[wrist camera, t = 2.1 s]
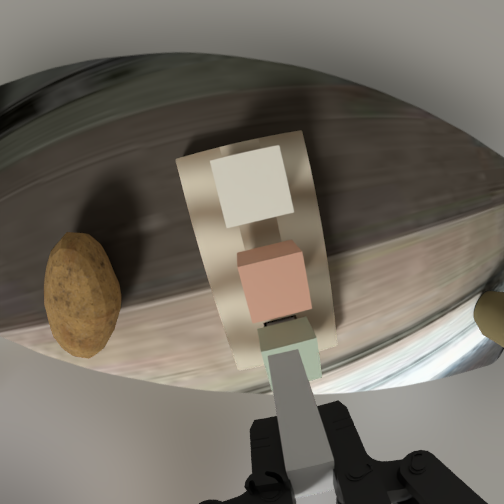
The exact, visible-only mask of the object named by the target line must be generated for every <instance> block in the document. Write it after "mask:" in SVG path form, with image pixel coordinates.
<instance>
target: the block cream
mask: <svg viewBox="0 0 504 504" xmlns="http://www.w3.org/2000/svg"><path fill="white" fill-rule="evenodd" d="M210 164H211V168H212V172H213V176H214V180H215V184H216V188H217V192H218V196H219V200H220V204H221V208H222V212H223V216H224V220H225V224H226V228H231V227H235V226H239V225H243V224H247V223H251V222H255V221H260V220H264V219H268V218H272V217H277V216H281V215H285V214H290V213H294V209H293V205H292V200H291V195H290V190H289V186H288V181H287V177H286V172H285V168H284V164H283V159H282V155H281V151H280V146H279V145H277V146H272V147H267V148H262V149H257V150H253V151H248V152H244V153H239V154H235V155H231V156H227V157H223V158H219V159H215V160H211V161H210Z"/></svg>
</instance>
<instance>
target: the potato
mask: <svg viewBox="0 0 504 504" xmlns="http://www.w3.org/2000/svg"><path fill="white" fill-rule="evenodd" d="M44 304H45V308H46V311H47V316H48V320H49V324H50V328H51V331H52V334H53V337H54V338H55V339H56V340H57V342H58V343H59V344H60V346H61V347H62V348H63V349H64V350H65V351H67V352H68V353H70V354H71V355H73V356H76V357H82V358H91V357H92V356H94V355H96V354H97V353H98V352H99V351H101V350H102V349H103V348H104V347H105V345H106V344H107V342H108V340H109V338H110V336H111V335H112V333H113V331H114V329H115V325H116V322H117V319H118V315H119V312H120V308H121V291H120V285H119V282H118V280H117V277H116V275H115V273H114V271H113V268H112V266H111V263H110V261H109V258H108V256H107V254H106V253H105V251H104V249H103V247H102V246H101V244H100V243H99V242H98V241H96V240H95V239H94V238H93V237H92V236H90V235H89V234H85V233H70V232H67V233H66V234H65V235H64V236H63V237H62V238H61V240H60V241H59V242H58V243H57V244H56V245H55V247H54V248H53V249H52V250H51V253H50V256H49V260H48V263H47V267H46V273H45V282H44Z"/></svg>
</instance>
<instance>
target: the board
mask: <svg viewBox="0 0 504 504" xmlns="http://www.w3.org/2000/svg"><path fill="white" fill-rule="evenodd" d="M277 145H279V146H280V151H281V155H282V159H283V164H284V168H285V172H286V177H287V181H288V186H289V190H290V195H291V200H292V205H293V209H294V213H290V214H285V215H281V216H277V217H272V218H268V219H264V220H260V221H255V222H251V223H247V224H243V225H239V226H235V227H231V228H226V224H225V220H224V216H223V212H222V208H221V204H220V200H219V196H218V192H217V188H216V184H215V180H214V176H213V172H212V168H211V164H210V161H211V160H215V159H219V158H223V157H227V156H231V155H235V154H239V153H244V152H248V151H253V150H257V149H262V148H267V147H272V146H277ZM176 163H177V167H178V171H179V175H180V179H181V183H182V187H183V191H184V195H185V199H186V203H187V206H188V210H189V214H190V218H191V221H192V225H193V229H194V232H195V236H196V239H197V243H198V246H199V250H200V253H201V257H202V260H203V263H204V267H205V270H206V273H207V277H208V280H209V283H210V287H211V290H212V293H213V296H214V299H215V303H216V306H217V309H218V312H219V315H220V318H221V321H222V324H223V327H224V330H225V333H226V336H227V339H228V342H229V345H230V348H231V351H232V354H233V357H234V360H235V362H236V365H237V368H238V371H240V370H245V369H250V368H255V367H259V366H264V361H263V358H262V354H261V349H260V343H259V337H258V330H257V329H258V328H262V327H265V326H264V323H265V322H269V321H273V320H277V319H281V318H285V317H289V316H293V315H294V318H295V319H298V318H302V317H307V319H308V321H309V323H310V325H311V327H312V329H313V331H314V333H315V335H316V337H317V342H318V350H319V351H322V350H325V349H329V348H332V347H335V346H337V336H336V326H335V316H334V307H333V299H332V291H331V283H330V276H329V269H328V262H327V255H326V249H325V242H324V236H323V230H322V224H321V219H320V213H319V208H318V202H317V197H316V192H315V187H314V182H313V177H312V173H311V168H310V163H309V159H308V154H307V150H306V146H305V142H304V137H303V133H302V130H300V131H294V132H288V133H283V134H277V135H272V136H267V137H262V138H257V139H252V140H248V141H243V142H239V143H234V144H230V145H226V146H222V147H218V148H214V149H210V150H206V151H203V152H199V153H195V154H192V155H188V156H185V157H181V158H178V159H176ZM291 239H292V240H293V241H294V243H295V244H296V245H297V246H298V247H299V248H300V249H301V251H302V253H303V258H304V264H305V269H306V275H307V281H308V287H309V293H310V299H311V305H312V309H309V310H305V311H301V312H298V313H294V314H290V315H286V316H282V317H278V318H274V319H270V320H266V321H262V322H257V323H252V320H251V316H250V312H249V309H248V305H247V301H246V298H245V294H244V290H243V287H242V283H241V279H240V275H239V272H238V268H237V253H238V252H242V251H246V250H250V249H254V248H258V247H262V246H267V245H271V244H275V243H279V242H283V241H287V240H291Z"/></svg>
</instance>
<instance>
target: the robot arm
mask: <svg viewBox="0 0 504 504" xmlns="http://www.w3.org/2000/svg"><path fill="white" fill-rule="evenodd" d="M268 362H269V368H270V375H271V381H272V387H273V393H274V399H275V405H276V412H277V416H275V417H270V418H264V419H258V420H254V422H253V424H252V426H251V428H250V441H251V442H250V444H251V461H252V474H251V475H250V476H249V477H248V478H247V480H246V482H245V488H246V490H247V491H246V492H245V493H244V494H242V495H240V496H238V497H235V498H232V499H230V500H227V501H223V502H221V501H218V500H206V501H203V502H201V503H199V504H296V498H301V497H305V496H310V495H315V494H319V493H323V492H327V491H330V490H334V489H335V493H336V496H337V498H336V504H488V503H486V502H485V501H484V500H483V499H482V498H481V497H480V496H479V495H477V494H476V493H475V492H474V491H473V490H472V489H471V488H469V487H468V486H467V485H466V484H465V483H464V482H463V481H462V480H461V479H459V478H458V477H457V476H456V475H455V474H454V473H453V472H451V470H450V469H448V468H447V467H446V466H445V465H444V464H443V463H442V462H441V461H440V460H438V459H437V458H436V457H435V456H434V455H433V454H432V453H430V452H428V451H424V450H419V451H414V452H412V453H410V454H408V455H407V456H406V457H405V458H404V459H402V460H395V461H383V462H382V461H377V460H374V459H372V458H371V457H370V456H369V455H368V454H367V453H366V451H365V449H364V447H363V444H362V442H361V439H360V437H359V435H358V432H357V430H356V428H355V426H354V423H353V421H352V419H351V416H350V414H349V412H348V409H347V407H346V406H345V405H343V404H342V403H341V402H340V401H335V402H331V403H328V404H324V405H320V406H317V405H316V402H315V399H314V396H313V393H312V390H311V387H310V383H309V380H308V377H307V374H306V371H305V368H304V365H303V362H302V359H301V356H300V353H299V350H298V349H296V350H291V351H287V352H283V353H278V354H274V355H269V356H268Z"/></svg>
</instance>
